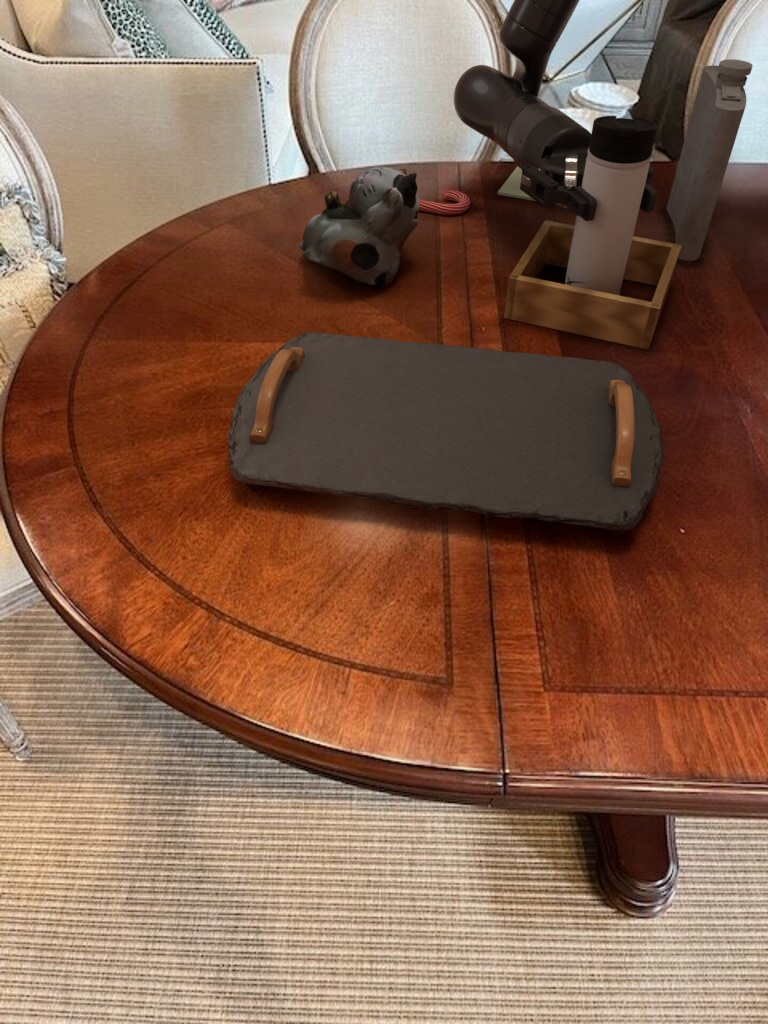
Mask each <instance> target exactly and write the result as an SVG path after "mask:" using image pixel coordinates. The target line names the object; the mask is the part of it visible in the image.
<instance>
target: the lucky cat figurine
mask: <svg viewBox="0 0 768 1024" xmlns="http://www.w3.org/2000/svg"><path fill="white" fill-rule="evenodd" d="M417 176H418V174H417V172H412V173H409V174H407V169H406V168H404V167H403V168H400V169H395V168H393V167H388V166H383V167H378V166H374V167H371V168H370V169H369V170H367V171H366V172H365V173H363V174H360V175H359V176H357V177H355V178H354V179H353V181H352V182H351V184H350V188H349V194H348V200H346V201H345V203H344V204H343V203H342V202H341V200H340V196H339V194H338V193H337V192H336V191H333V190H329V192H328V193H327V194H325V196H324V201H325V209H323V210H322V212H321V213H320V214H316V215H314V216H312V218H311V219H310V220H309V221H308V222H307V224H306V225H305V228H304V232H303V235H302V242H300V243H299V246H298V248H299V249H300V250H302V252H303V254H302V256H303V257H305V258H306V259H307V260H308V261H311V262H313V263H315V264H317V265H319V266H323V267H325V268H328V269H331V270H334V271H337V272H340V273H342V274H344V275H346V276H347V277H349V278H351V279H353V280H355V281H357V282H359V283H363V284H367V285H372V286H376V285H379V286H380V287H381V288H382V287H388V286H389V285H390V284H391V283H392V282H394V279H395V277H396V275H397V272H398V270H399V268H400V263H401V253H402V248H403V246H404V244H405V242H406V241H407V240H408V238H409V237H410V235H411V234H412V233H413V232H414V230H415V229H416V228H417V227H418V224H419V220H420V219H419V218H418V214H419V211H420V210H419V209H420V204H419V203H420V200H421V199H420V198H419V195H418V193H417V192H418V184H417V181H416V180H417Z"/></svg>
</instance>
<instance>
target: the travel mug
mask: <svg viewBox="0 0 768 1024" xmlns="http://www.w3.org/2000/svg"><path fill="white" fill-rule="evenodd" d="M658 128H659V125H658V124H657V123H656V122H655V121H652V120H650V119H646V118H643V117H634V119H633V118H627V117H626V118H625V117H624V118H623V117H617V115H604V116H599V117H596V118H595V119H594V120H593V123H592V128H591V142H590V145H589V148H588V156H587V159H586V165H585V170H584V176H583V182H582V188H583V189H584V190H585V191H586V192H588V193H589V194H590V195H591V196H593V197H594V198H595V199H596V201H597V207H596V212H595V217H594V220H591V221H585V220H584V219H583V218H582V217H579V216H577V215H576V217H575V223H574V226H575V227H574V233H573V239H572V244H571V250H570V256H569V262H568V267H567V268H566V272H565V273H566V274H565V280H564V284H565V285H570V286H575V287H580V288H585V289H590V290H595V291H600V292H605V293H610V294H615V295H619V296H620V293H621V289H622V286H623V280H624V279H623V277H624V273H625V268H626V264H627V260H628V255H629V251H630V247H631V243H632V238H633V236H634V234H635V229H636V226H637V221H638V216H639V214H640V213H639V212H640V204H641V200H642V195H643V191H644V187H645V183H646V178H647V174H648V170H649V166H651V160H652V157H653V150H654V145H655V140H656V137H657V132H658Z"/></svg>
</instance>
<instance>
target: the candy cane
mask: <svg viewBox="0 0 768 1024" xmlns="http://www.w3.org/2000/svg"><path fill="white" fill-rule="evenodd" d="M441 195H442V198H443V200H445V201H451V202H456V203H442V202H435V201H431V200H426V199H425V200H424V199H420V203H419V204H420V209H419V211H420V212H426V213H431V214H432V213H433V214H437V215H443V216H454V215H460V214H463V213H464V212H466V211H468V209H469V208H470V206H471V200H470V197H469V196H468V195H467V194H466V193H464V192H462V191H459V190H454V189H445V190H443V192H442V194H441Z"/></svg>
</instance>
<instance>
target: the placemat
mask: <svg viewBox="0 0 768 1024" xmlns="http://www.w3.org/2000/svg"><path fill="white" fill-rule="evenodd" d="M521 175H522V170H521V169H520V168H519V167H518V165H516V167H515V168H514V170H513V171H512V172H511V174H510V175H509V176H508V178H507V179H506V180H505V182H504V183H503V184H502V186H501V187H500V188H499V189H498V191H497V194H496V195H497V196H504V197H510V198H516V199H520V200H521V199H522V200H525V201H526V200H527V201H533V202H536V201H535V200H534V199H532V198H531V197H530V196H528V195H527V194H526V193H524V192H523V191H522V190H520V183H521ZM555 205H556V206H561V204H555Z"/></svg>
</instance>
